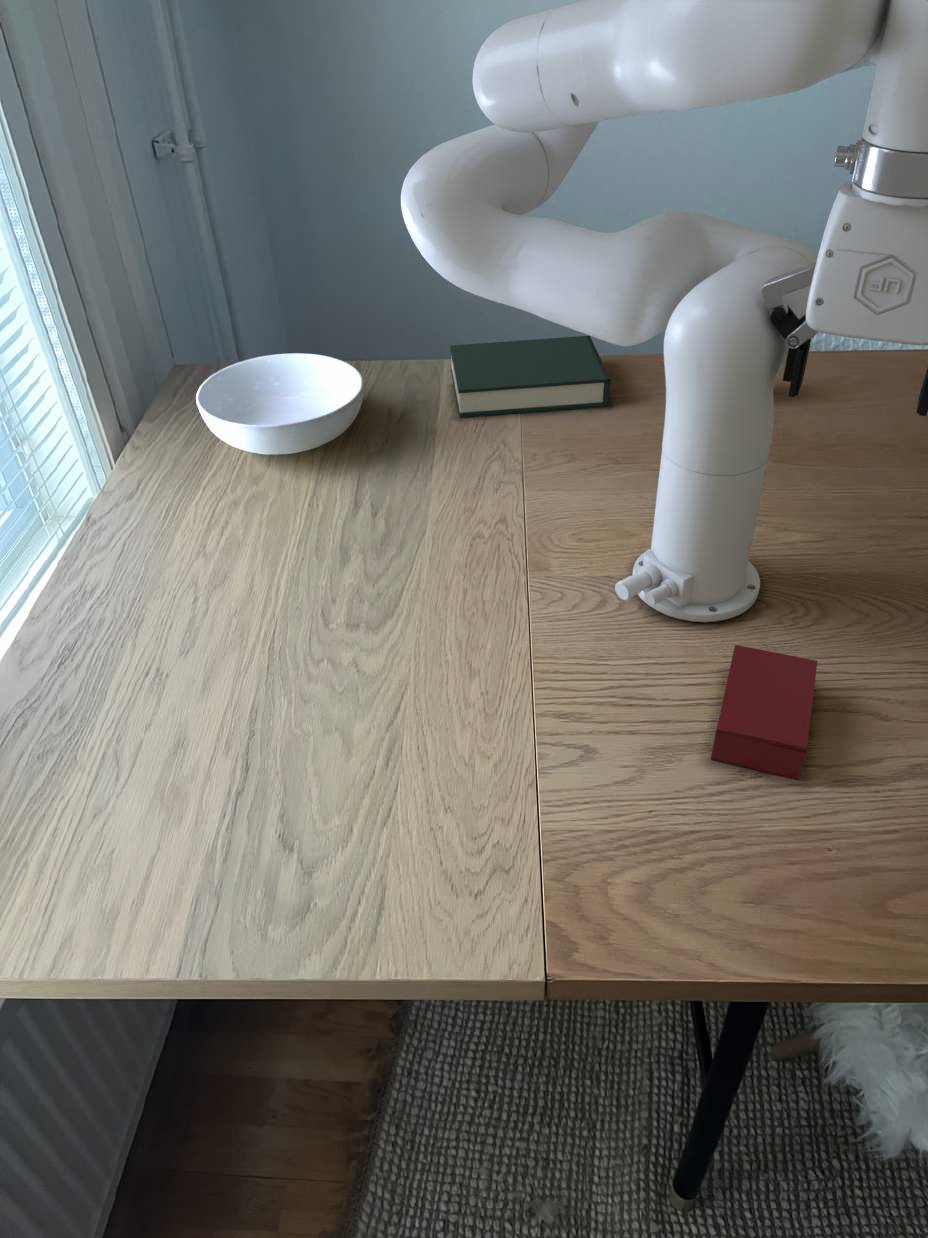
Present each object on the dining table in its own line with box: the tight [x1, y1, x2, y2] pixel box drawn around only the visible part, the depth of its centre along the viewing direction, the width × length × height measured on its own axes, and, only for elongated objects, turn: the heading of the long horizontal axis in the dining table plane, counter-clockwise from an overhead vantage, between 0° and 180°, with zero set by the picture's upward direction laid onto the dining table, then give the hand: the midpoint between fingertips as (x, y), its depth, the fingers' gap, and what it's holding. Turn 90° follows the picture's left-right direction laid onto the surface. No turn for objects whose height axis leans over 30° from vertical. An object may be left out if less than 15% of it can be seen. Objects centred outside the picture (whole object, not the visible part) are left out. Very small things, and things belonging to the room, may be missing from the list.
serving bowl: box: [195, 352, 365, 456], centre depth 121 cm, size 21×21×7 cm
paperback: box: [710, 644, 818, 781], centre depth 80 cm, size 11×7×4 cm, turn 160°
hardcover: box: [449, 335, 611, 419], centre depth 130 cm, size 20×14×4 cm
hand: (857, 398), depth 76 cm, fingers open, 9 cm apart
